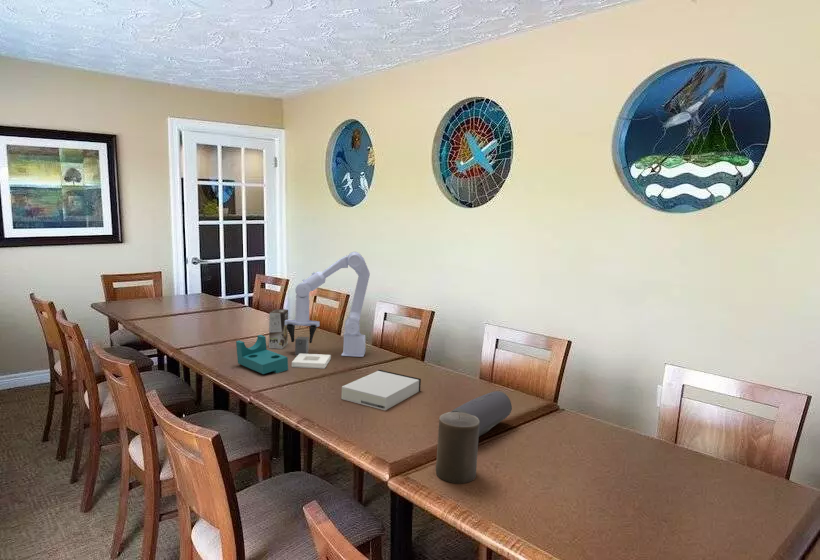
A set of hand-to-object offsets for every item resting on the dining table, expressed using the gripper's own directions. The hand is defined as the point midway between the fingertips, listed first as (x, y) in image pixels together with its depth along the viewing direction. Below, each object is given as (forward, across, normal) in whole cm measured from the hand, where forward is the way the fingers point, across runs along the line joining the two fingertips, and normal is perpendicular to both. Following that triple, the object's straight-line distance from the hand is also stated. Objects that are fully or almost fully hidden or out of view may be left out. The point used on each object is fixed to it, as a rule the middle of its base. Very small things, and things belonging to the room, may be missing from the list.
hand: (301, 342), depth 224 cm
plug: (+5, 0, 0) cm, 5 cm away
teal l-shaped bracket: (+6, -10, -22) cm, 25 cm away
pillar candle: (+5, +60, -98) cm, 115 cm away
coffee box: (+5, -13, +11) cm, 18 cm away
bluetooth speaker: (+5, +68, -73) cm, 100 cm away
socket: (+5, +7, -13) cm, 16 cm away
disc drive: (+6, +38, -46) cm, 60 cm away
